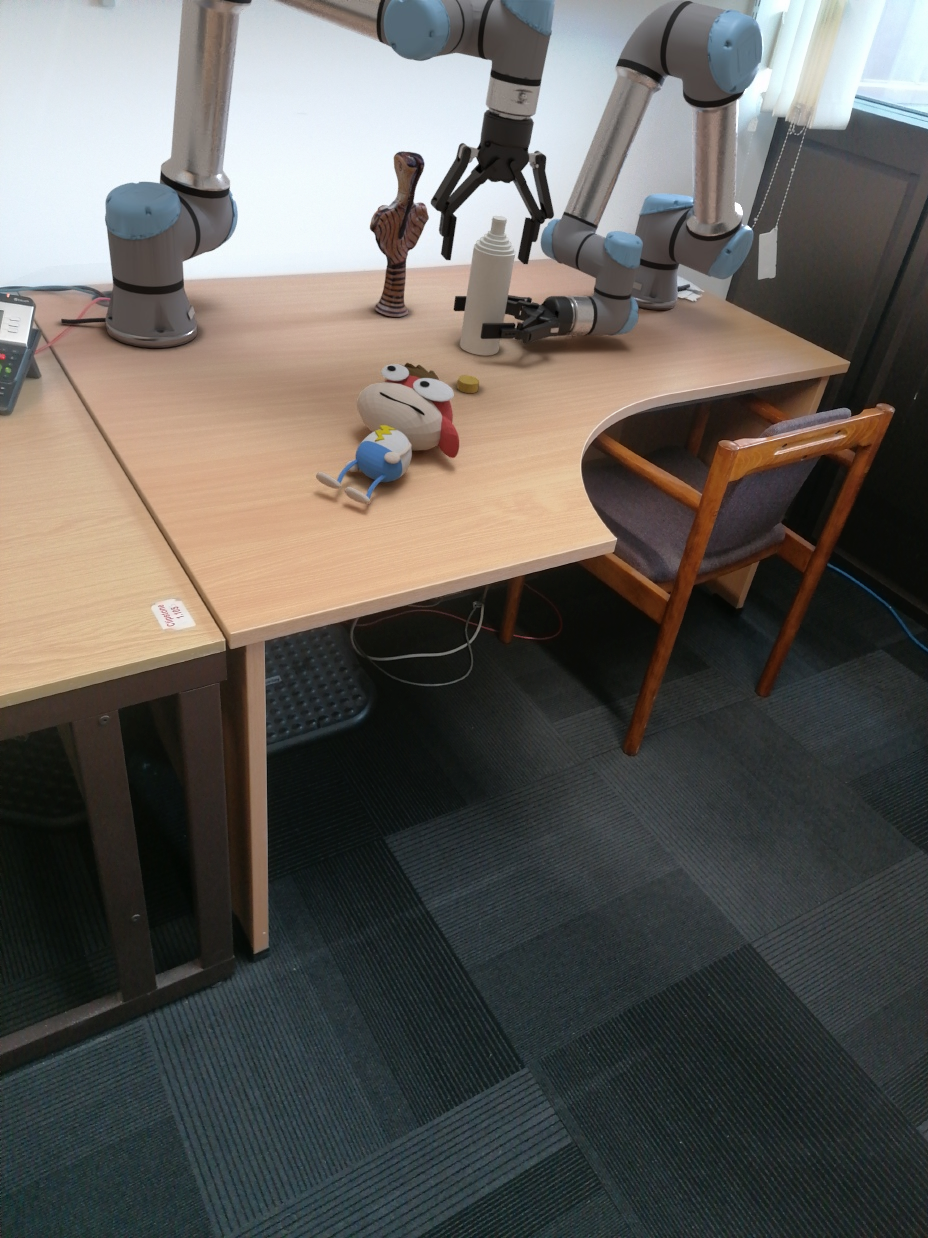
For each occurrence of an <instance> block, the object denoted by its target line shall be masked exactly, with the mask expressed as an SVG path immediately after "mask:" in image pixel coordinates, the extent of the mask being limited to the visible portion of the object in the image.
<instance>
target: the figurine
mask: <svg viewBox="0 0 928 1238" xmlns="http://www.w3.org/2000/svg"><path fill="white" fill-rule="evenodd" d="M425 164H426V163H425V160H424V157H423V156H422V155H421V154H420V153H417V152H411V151H405V150H403V151H402V150H401V151H397V152H396V153H395V154H394V155H393V169H394V173H395V175H396V179H397V193H396V197H395V198H394V200H393V201H392V202H391V203H390V204H389V205H387V204H382V205H380V206H378V207H377V210H376V211H374V213H373V214H372V217H371V220H370V224H369V230H370V231H371V232H372V233H373V234H374V237H375V238H374V239H375V241H376V244H377V247H378V249H379V250H380V252H381V253H382V254H383V255H384V256H385V257H386V269H385V277H384V283H383V289H382V291H381V296H380V298H379V300H378V302H377V303H376V304H375V305H374V310H375V311H376V312H377V313H380V314H382V315H384V316H388V317H394V318H396V317H397V318H401V317H405V316H406V315H408V314H409V310H408V308H407V307H406V304H405V290H406V289H405V288H406V279H407V259H408V255H409V251H410V250H411V251H412V250H413V249H414V248H415V247H416V246H417V244H418V242H419V240H420V238H421V236H422V234H423V231H424V229H425V226H426V224H427V223H428V221H429V219H430V217H429V213H428V208H427V206H426V203H424V202H414V201H415V195H416V189H417V186H418V183H419V181H420V179H421V177H422V174H423V172H424V169H425Z"/></svg>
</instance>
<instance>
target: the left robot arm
mask: <svg viewBox="0 0 928 1238" xmlns="http://www.w3.org/2000/svg"><path fill="white" fill-rule="evenodd" d="M181 1H182V2H181V3H182V5H181V17H180V30H179V43H178V58H177V68H176V69H177V70H176V83H175V97H174V98H175V99H174V111H173V125H172V139H171V152H170V157H169V158H168V159H167V160H165V161H163V162H162V163H161V165H160V175H159V182H154V181H138V182H127V183H124V184H120V185H118V186H116V187H114V188H113V189H111V190H110V191H109V193H108V194H107V195H106V197H105V205H104V206H105V215H104V221H105V226H106V233H107V241H108V250H109V259H110V268H111V277H112V291H111V295H110V300H109V303H108V307H107V311H106V315H105V317H89V318H76V319H75V318H73V319H72V318H71V319H67V318H61V320H60V322H61V324H66V325H67V324H68V325H78V324H91V323H93V324H94V323H95V324H96V323H105V326H106V328H105V329H106V332H107V334H108V335H109V336H110V337H111V338H112V339H114V340H116V341H117V342H120V343H123V344H126V345H130V346H133V347H140V348H152V349H157V348H160V349H163V348H171V347H177V346H182V345H184V344H187V343H189V342H191V341H193V340H194V339H195V338H196V337H197V335H198V324H197V322H198V321H197V318H196V317H195V314H196V311H195V309H194V306H193V305H192V306H191V304H190V300H189V298H188V296H187V293H186V290H185V278H184V276H185V275H184V262H186V261H188V260H191V259H193V258H195V257H198V256H200V255H203V254H205V253H209V252H213V251H215V250H217V249H219V248H220V247H221V246H223V244H225V243H226V242H228V241H229V240H230V239H231V237H232V236H233V234H234V233H235V231H236V228H237V224H238V217H239V216H238V215H239V214H238V211H239V210H238V205H237V202H236V200H234V198H233V193H232V191H231V190H230V189H231V180H230V178H229V177H228V176H227V174H226V173H225V172H224V162H225V161H224V160H225V154H226V153H225V152H226V142H227V134H228V126H229V115H230V114H229V113H230V107H231V98H232V88H233V81H234V80H233V79H234V70H235V62H236V61H235V60H236V53H237V43H238V35H239V26H240V17H241V13H242V12H243V11H244V10H246V9H247V8H248V7H250V6H251V5H252V3H253V2H252V1H253V0H181ZM269 1H270V2H272V3H274V4H275V3H276V4H278V5H281V6H283V7H285V8H289V9H292V10H294V11H297V12H298V13H302V14H305V15H307V16H310V17H312V18H315V19H317V20H321V21H323V22H326V23H328V24H331V25H334V26H336V27H339V28H341V29H344V30H347V31H350V32H353V33H355V34H357V35H360V36H363V37H366V38H368V39H371V40H374V41H377V42H379V43H381V44H384V45H386V46H388V47H390V48H391V49H392V50H393V52H395V54H397V55H398V56H399V57H401V58H403V59H405V60H412V61H416V62H417V61H418V62H424V61H427V60H431V59H433V58H436V57H437V58H438V57H440V56H441V57H442V56H447V55H453V54H459V55H464V56H470V57H474V58H478V59H482V60H487V61H491V69H490V72H489V73H490V74H489V80H488V85H487V87H488V88H487V93H486V98H485V106H486V107H487V108H488V109H487V110H486V111H485V112H484V113H483V118H482V124H481V125H482V126H481V130H480V140H479V144H478V146H477V147H473V146H470V145H467V144H466V143H464V142H461V143H460V144H459V145H458V148H457V152H456V156H455V159H454V161H453V162H452V164H451V166H450V168H449V169H448V170H447V173H446V174H445V176H444V177H443V179H442V180H441V183H440V184H439V186H438V188H437V189H436V191H435V192H434V194H433V196H432V198H431V199H430V205H431V206H432V208H434V209H435V210H436V211H437V212H439V213H440V219H439V224H438V225H439V226H438V232H439V234H440V236H441V237H442V243H441V251H440V255H441V256H442V258H443V259H444V260H446V261H452V254H453V247H454V241H455V240H454V239H455V234H456V228H457V227H456V226H457V220H458V217H457V216H456V215H455V214H454V213H455V212H457V210H459V208H461V206H462V205H463V204H464V203H465V202H466V201H467V200H468V199H469V198H470V196H472V194H474V192H475V191H476V190H477V189H478V188H479V187H480V186H482V185H484V184H485V183H486V182H487V181H490V182H491V183H498V182H502V183H505V184H511V182H513V184H514V186H515V187H516V190H517V192H518V193H519V194H518V195H520V198H521V199H522V201H523V204H524V205H525V208H526V210H527V211H528V213H529V215H530V217H525V218H524V222H523V228H522V233H521V237H520V243H519V249H518V254H517V259H518V260H519V262H521V263H522V264H523V265H529V261H530V256H531V251H532V246H533V243H536V242H537V241H538V238H539V234H540V229H541V225H543V224H544V223H545V222H546V220H553V219H554V217H555V211H554V206H553V201H552V198H551V197H552V196H551V192H550V187H549V183H548V177H547V172H546V166H547V155H546V154H544V153H543V152H542V151H539V150H535V151H534V152H529V147H530V145H531V140H532V133H533V129H534V124H535V122H534V120H533V118H532V117H534V116H535V115H536V113H537V108H538V102H539V96H540V91H541V86H542V78H543V73H544V68H545V64H546V59H547V56H548V55H547V54H548V49H549V45H550V40H551V36H552V32H553V30H552V28H553V27H552V26H553V20H554V13H555V5H556V0H269ZM475 158H476V161H477V163H478V164H477V165H476V166H475V167H473V169H472V170H471V171H470V174H469V175H468V176H467V177H466V178H465V179H464V180H463V182H462V183H461V184H460V185H459V186H458V184H459V182H460V181H461V179H462V177H463V175H464V174H465V172H466V171H467V168H468V166H469V164H471V163H472V162H473V160H474V159H475ZM527 165H529V167H530V168H531V170H532V175H533V179H534V184H535V189H536V193H537V198H538V203H539V205H538V203H537V202H536V200H535V197H534V195H533V193H532V191H531V189H530V187H529V185H528V183H527V180H526V178H525V176H524V173H523V170H524V169H525V167H527ZM457 186H458V187H457ZM456 187H457V188H456ZM539 207H540V208H539Z"/></svg>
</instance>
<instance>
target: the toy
mask: <svg viewBox="0 0 928 1238" xmlns="http://www.w3.org/2000/svg"><path fill="white" fill-rule="evenodd" d="M380 371H381V372H380V373H381V376H382V377H383V378H384V379H385V381H381V382H374V383H371V384H369V385H368V386H366V387H365V388H363V389H362V390H361V391H360V393H359V395H358V397H357V399H356V404H357V406H356V407H357V412H358V414H359V417H360V418H361V420H362V422H363V424H365V426H366V427H367V428H368V429H369V430H370V431H371V433H369V434H368V435H367V436H365V438H364V439H362V441H361V442H360V443H359V445H358V447H357V449H356V451H355V457H354V459H353V460H348V461H347V462H345V464H344V465H345V466H344V468H343V469H342V470H341V472H340V473H339V475H338V477H337V479H336V478H334V477H333V476H331V475H330V474H327V473H325V472H322V471H318V472H316V474H315V478H316V480H317V482H318V483H319V482H320V483H321V484H322V485H324V486H326V487H328V488H331V489H334V490H339V489H341V488H342V482H343V479H344V477H345V475H346V474H347V473H348V472H350V473H356V472H358V471H360V472H362V474H364V475H365V476H366V477H368V478H369V479H372V480H374V481H373V482H372V483H371V485H370V486H369V488H368V489H367V492H366V494H365V493H363V492H362V491H360V490H359V489H356V488H354V487H352V486H347V487H345V489H344V493H345V494H344V495H346V496H347V497H348V498H350V499H351V500H353V501H354V502H357V503H360V504H364V505H369V504H371V496H372V494H373V491H374V490H375V488H376V487H377V486H378V485H379V483H389V482H391V483H392V482H394V481H396V480H399V479H400V478H401V477H402V476H403V475H405V473H406V472H407V471H408V469H409V468H410V467H409V466H410V464H411V461H412V457H413V451H428V450H431V449H433V448H434V447H438V448H439V450H440V451H441V452H442V453H443V454H444V455H445V456H446V457H448V458H450V459H455V458H456V457H457V456H458V454H459V449H460V437H459V433H458V430H457V428H456V427H455V425H454V423H453V422H454V421H453V420H454V412H453V407H452V404H451V403H452V402H451V400H452V399H453V398H454V397H455V392H454V390H453V388H452V387H451V386H450V385H448V384H447V383H446V382H444V381H442V380H440V378H439V376H438V375H437V373H436V372H435V371H434V370H433V369H430V370H429V371H428V370H427V369H426V368H424V367H423V366H422V365H421V364H417V365H416V366H415V365H413V363H409V362H406V363H405V364H404V365H403V364H398V363H391V364H386V365H385V366H384V367H382V369H381V370H380Z"/></svg>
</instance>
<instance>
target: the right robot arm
mask: <svg viewBox="0 0 928 1238" xmlns="http://www.w3.org/2000/svg"><path fill="white" fill-rule="evenodd" d="M763 53H764V37H763V32H762V29H761V26H760V24H759V22H758V21H757V20H756V19H755V18H753V17H752V16H751V15H748V14H745V13H742V12H740V11H739V10H736V9H723V8H719V7H714V6H710V5H706V4H702V3H697V2H693V1H691V0H672V1H669V2H667V3H663V4H662V5H660V6H658V7H657V8H655V9H654V10H653V11H651V13H650V14H647V16H645V18H644V19H643V20H642V21H641V22H640V23H639V24H638V26H637V27H636V28H635V30H634V31H633V33H632V34H630V37H629V39H627V41H626V43H625V45H624V46H623V48H622V50H621V52H620V55H619V57H618V59H617V63H616V64H615V68H614V72H615V76H616V79H615V81H614V84H613V86H612V90H611V92H610V95H609V97H608V100H607V102H606V105H605V108H604V109H603V111H602V114H601V118H600V120H599V123H598V125H597V128H596V130H595V132H594V135H593V138H592V140H591V143H590V145H589V148H588V150H587V153H586V155H585V158H584V160H583V162H582V165H581V168H580V171H579V173H578V176H577V178H576V181H575V183H574V186H573V188H572V191H571V193H570V196H569V198H568V201H567V204H566V205H565V209H564V211H563V213H562V216H561V218H552V219H550V221H549V222H548V223H547V226H544V228H543V230H542V233H541V236H540V249H541V251H542V253H543V254H544V255H545V256H546V257H548V258H550V259H551V260H554V261H555V262H557V263H558V264H561V265H565V266H567V267H569V268H572V269H574V270H577V271H580V272H581V273H583V274H586V275H587V276H589V277H592V278H594V279H595V281H594V286H593V294H592V295H567V296H565V295H550V296H547V297H546V298H545V300H544V301H543V302H542V303H541V304H540V303H538V302H534V301H533V298H532V297H530V296H517V295H511V294H508V299H507V305H506V310H505V315H507V316H512V317H514V319H515V320H517V321H516V322H517V324H516V323H515V322H503V323H483V324H482V331H481V339H500V340H502V339H505V340H506V339H508V340H509V339H515V340H516V341H521V343H522V344H523V345H528V344H532V343H534V342H537V341H540V340H543V339H546V338H549V337H550V338H552V337H564V336H571V337H572V338H576V336H617V335H624V334H629V333H631V332H632V331H633V330H634V329H635V328H636V325H638V324H637V323H638V322H639V321H638V320H639V315H638V313H639V308H640V309H646V310H652V311H666V310H671V309H674V308H675V307H676V305H677V301H678V299H679V297H678V295H679V294H678V293H679V292H678V291H680V290H685V289H690V287H691V284H689V283H687V284H684V285H679V286H678V270H679V266H680V265H681V266H683V267H686V268H689V269H690V270H693V271H695V272H698V273H700V274H703V275H705V276H707V277H709V278H714V279H717V280H727V279H728V278H730V277H732V276H733V275H734V274H735V273H737V271H738V270H739V269H740V268H741V266H742V265H743V263H744V261H745V260H746V258H747V256H748V254H749V253H750V250H751V248H752V245H753V242H754V231H753V229H752V228H751V227H750V226H749V225H747V224H745V225H744V224H743V209H742V207H741V205H740V204H739V203H738V202H736V197H737V196H736V193H737V190H736V189H737V162H738V161H737V160H738V159H737V156H738V127H739V126H738V125H739V100H740V99H741V98H742V97H743V96H744V95H745V94H746V92H747V89H749V87H750V86H751V85H752V84H753V83H754V81H755V79H756V77H757V75H758V72H759V70H760V69H759V65H760V63H762V61H763V60H762V59H763ZM669 76H670V77H673V78H677V79H679V80H681V81H682V97H683V101H684V102H685V103H686V104H687V105H688V106H690V107H691V160H692V161H691V165H692V167H691V168H692V196H689V195H684V194H677V193H651V194H649V195H647V196H646V197H645V199H644V200H643V203H642V206H641V209H640V212H639V214H638V220H637V224H636V230H635V233H630V232H626V231H623V230H612V231H609V232H608V233H607V234H606V236H602V235H599V234H598V233H597V230H598V228H599V225H600V222H601V220H602V218H603V216H604V213H605V210H606V208H607V206H608V204H609V202H610V199H611V196H612V194H613V191H614V189H615V187H616V184H617V182H618V179H619V177H620V174H621V172H622V169H623V167H624V164H625V163H626V160H627V157H628V156H629V153H630V151H631V148H632V146H633V143H634V141H635V139H636V136H637V133H638V131H639V129H640V126H641V124H642V122H643V119H644V117H645V114H646V113H647V111H648V108H649V105H650V103H651V100H652V98H653V96H654V94H655V93H657V92H660V91H661V90H662V87H663V85H664V83H665V80H666V78H668V77H669ZM466 297H467V295H455V296H454V305H453V311H454V312H464V311H465V304H466ZM532 301H533V302H532Z"/></svg>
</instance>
